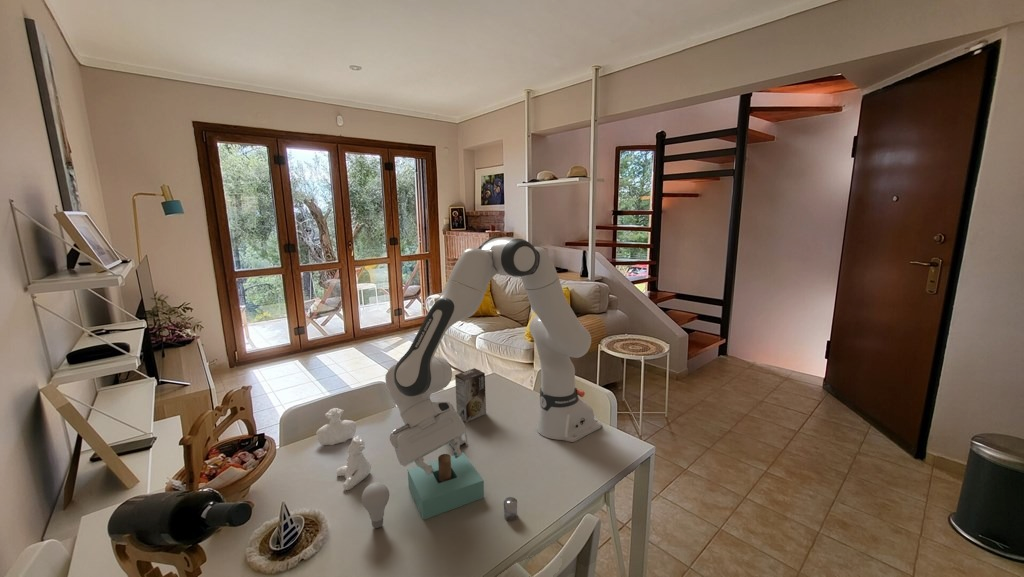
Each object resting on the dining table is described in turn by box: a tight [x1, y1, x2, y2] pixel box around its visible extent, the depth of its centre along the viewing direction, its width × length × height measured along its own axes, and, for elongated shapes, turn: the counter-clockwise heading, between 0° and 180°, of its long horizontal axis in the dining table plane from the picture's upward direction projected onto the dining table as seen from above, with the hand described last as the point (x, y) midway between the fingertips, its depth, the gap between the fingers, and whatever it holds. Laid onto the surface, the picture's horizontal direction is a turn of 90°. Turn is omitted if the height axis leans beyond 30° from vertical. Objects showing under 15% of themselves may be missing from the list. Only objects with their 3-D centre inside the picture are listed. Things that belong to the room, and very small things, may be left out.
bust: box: [315, 407, 357, 446], centre depth 132 cm, size 12×8×11 cm
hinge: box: [449, 403, 469, 449], centre depth 134 cm, size 17×5×10 cm, turn 13°
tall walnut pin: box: [437, 453, 452, 483], centre depth 106 cm, size 3×3×10 cm
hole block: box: [407, 452, 485, 521], centre depth 106 cm, size 16×14×5 cm
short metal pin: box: [503, 496, 518, 522], centre depth 98 cm, size 3×3×4 cm
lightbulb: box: [361, 481, 390, 529], centre depth 94 cm, size 6×6×11 cm
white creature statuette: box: [336, 434, 372, 491], centre depth 112 cm, size 10×9×12 cm
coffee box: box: [454, 367, 487, 423], centre depth 146 cm, size 9×6×16 cm
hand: (445, 464), depth 105 cm, fingers open, 8 cm apart
